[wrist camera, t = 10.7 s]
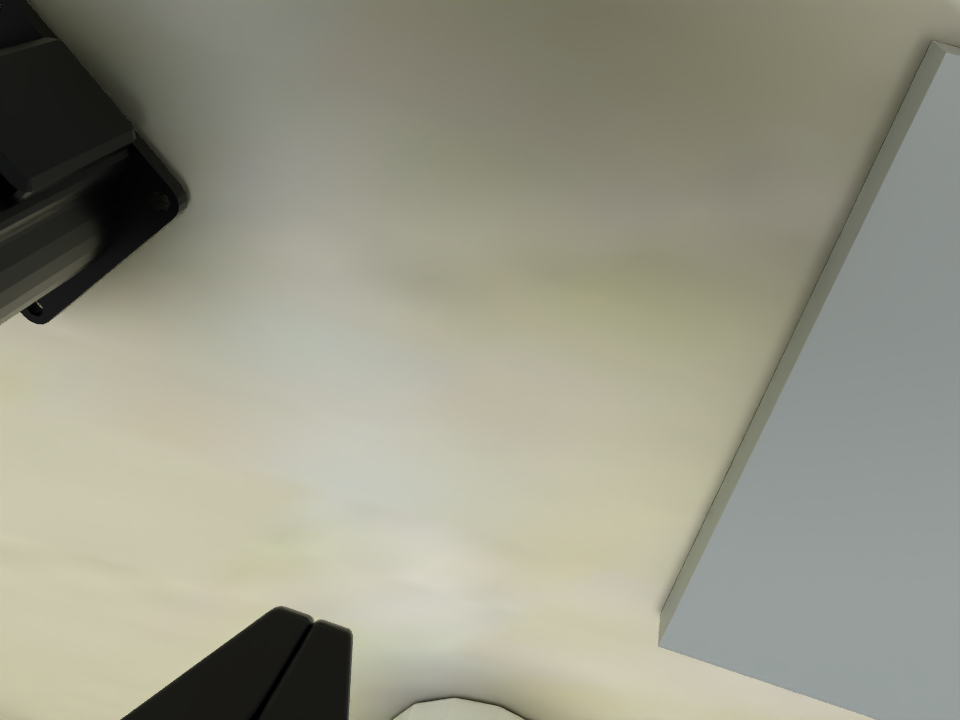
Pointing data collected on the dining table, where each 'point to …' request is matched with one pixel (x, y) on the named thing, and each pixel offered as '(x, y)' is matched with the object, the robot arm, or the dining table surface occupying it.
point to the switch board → (854, 457)
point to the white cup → (456, 711)
